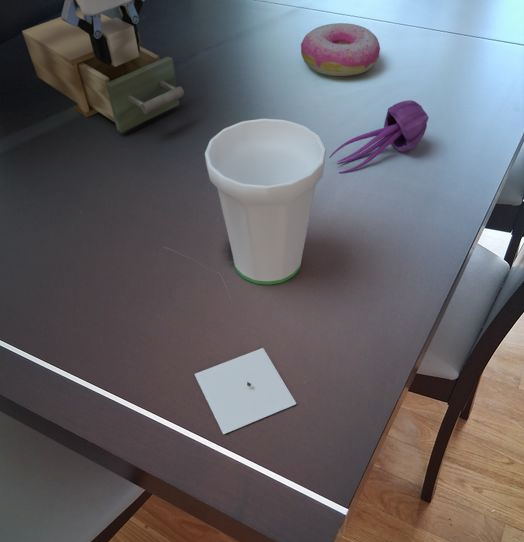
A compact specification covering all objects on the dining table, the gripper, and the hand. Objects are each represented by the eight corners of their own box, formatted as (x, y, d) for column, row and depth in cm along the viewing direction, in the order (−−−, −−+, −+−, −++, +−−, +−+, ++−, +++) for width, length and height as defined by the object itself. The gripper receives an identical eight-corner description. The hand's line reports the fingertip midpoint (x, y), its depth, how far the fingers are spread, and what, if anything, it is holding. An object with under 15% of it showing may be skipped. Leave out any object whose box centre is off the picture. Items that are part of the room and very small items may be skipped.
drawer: (199, 116, 89) (193, 69, 84) (140, 145, 85) (130, 98, 79) (130, 76, 98) (121, 31, 92) (73, 101, 93) (60, 55, 87)
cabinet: (149, 89, 97) (139, 32, 89) (87, 117, 91) (70, 60, 84) (101, 61, 103) (88, 6, 96) (40, 86, 98) (21, 30, 91)
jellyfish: (323, 133, 78) (415, 82, 79) (321, 159, 85) (406, 111, 86) (349, 171, 77) (442, 118, 78) (344, 194, 83) (430, 145, 84)
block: (115, 67, 84) (108, 35, 80) (98, 57, 86) (91, 26, 83) (139, 56, 86) (133, 25, 82) (122, 47, 88) (116, 17, 84)
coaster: (194, 374, 60) (193, 369, 59) (263, 347, 61) (262, 343, 61) (223, 434, 55) (222, 430, 54) (296, 403, 57) (296, 399, 56)
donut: (392, 73, 98) (396, 43, 94) (322, 89, 95) (324, 59, 91) (354, 41, 106) (357, 12, 102) (289, 55, 103) (290, 26, 99)
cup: (314, 226, 74) (321, 115, 62) (322, 296, 66) (332, 185, 54) (218, 229, 74) (206, 119, 62) (215, 299, 66) (201, 189, 54)
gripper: (123, -113, 77) (148, 30, 91) (10, -82, 70) (57, 67, 84) (157, -102, 73) (177, 45, 88) (42, -69, 66) (85, 85, 81)
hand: (118, 54), depth 86 cm, fingers closed on block, 4 cm apart
